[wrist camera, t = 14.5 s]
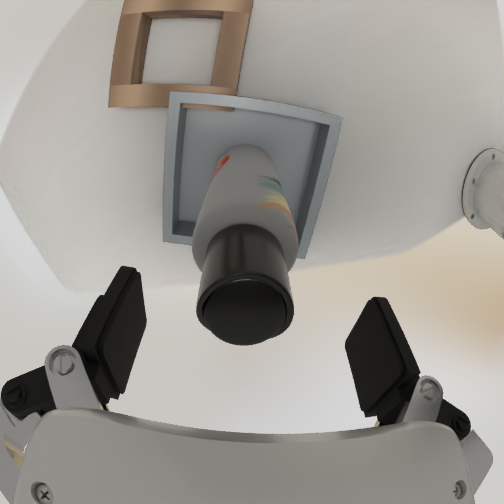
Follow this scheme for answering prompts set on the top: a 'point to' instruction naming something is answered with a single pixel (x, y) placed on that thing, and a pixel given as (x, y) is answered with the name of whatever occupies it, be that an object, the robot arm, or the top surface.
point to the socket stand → (135, 43)
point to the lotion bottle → (245, 250)
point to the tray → (244, 133)
